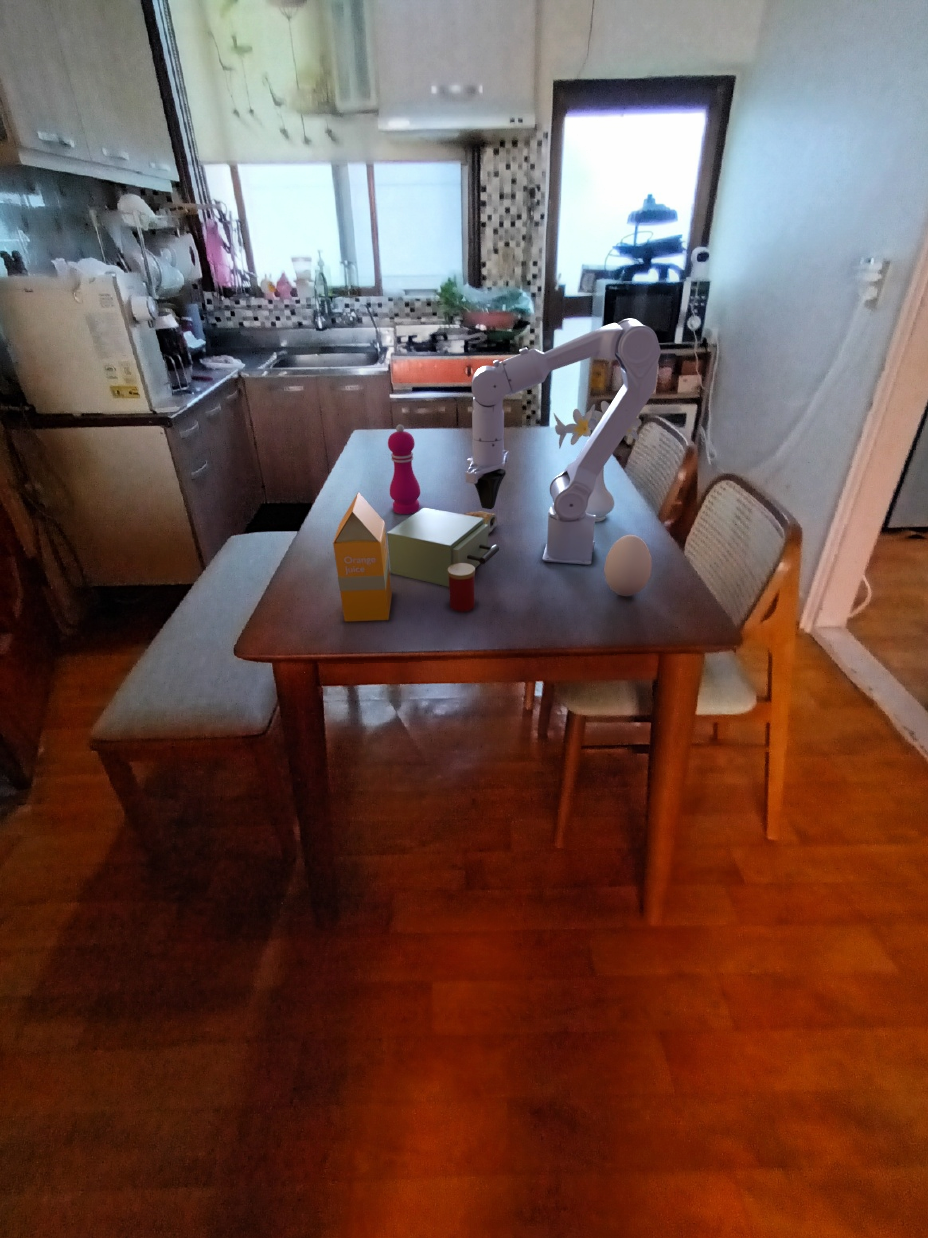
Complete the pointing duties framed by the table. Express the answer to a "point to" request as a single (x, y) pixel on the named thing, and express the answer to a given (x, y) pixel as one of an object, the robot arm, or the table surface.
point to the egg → (628, 565)
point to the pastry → (485, 518)
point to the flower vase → (601, 497)
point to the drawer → (474, 548)
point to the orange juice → (363, 563)
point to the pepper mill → (403, 473)
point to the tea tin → (461, 586)
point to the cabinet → (428, 544)
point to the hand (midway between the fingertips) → (487, 507)
